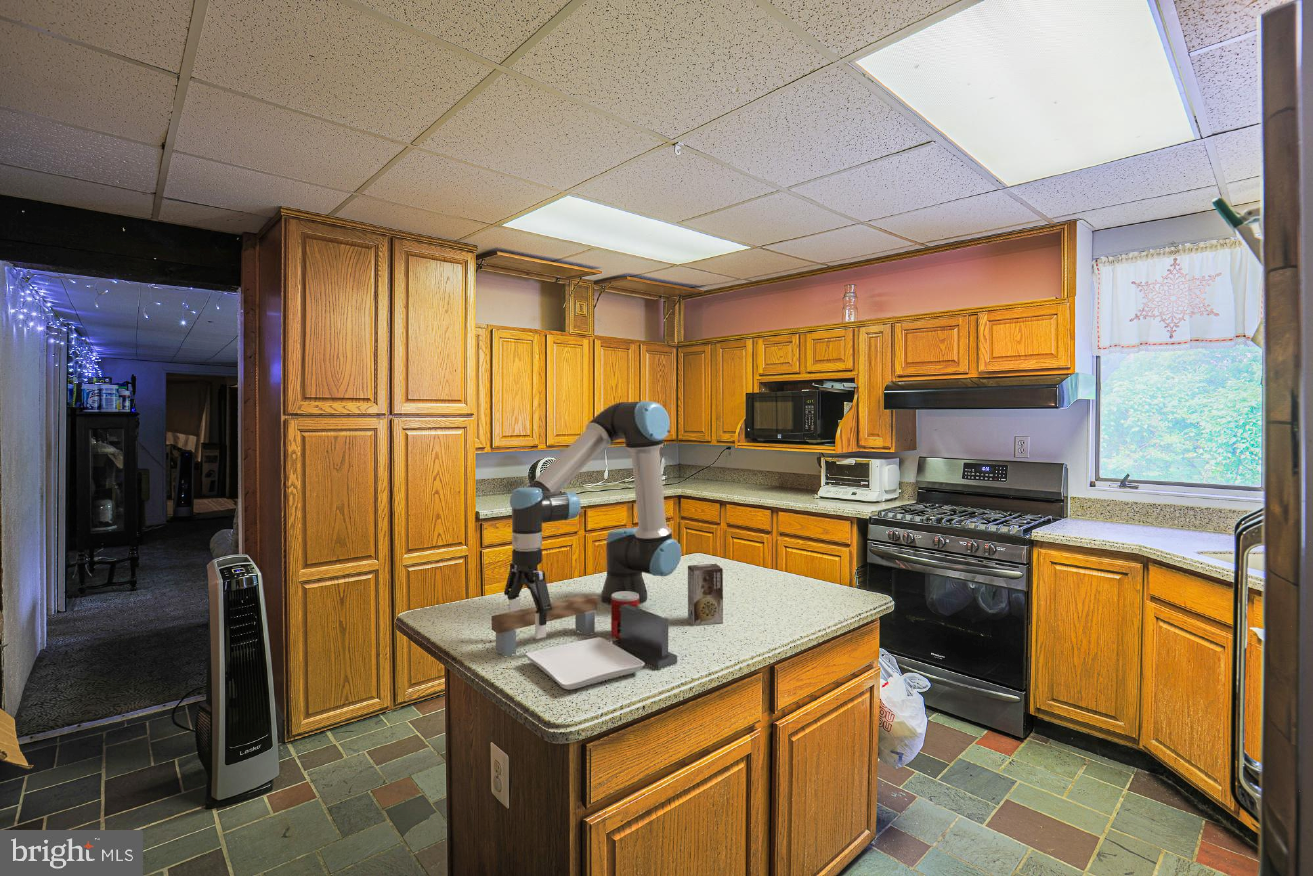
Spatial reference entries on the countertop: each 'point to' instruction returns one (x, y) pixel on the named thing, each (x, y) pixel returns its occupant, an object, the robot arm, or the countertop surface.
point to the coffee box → (705, 594)
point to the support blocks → (508, 639)
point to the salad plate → (584, 662)
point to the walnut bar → (558, 611)
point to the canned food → (616, 603)
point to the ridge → (645, 637)
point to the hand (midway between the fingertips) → (527, 630)
